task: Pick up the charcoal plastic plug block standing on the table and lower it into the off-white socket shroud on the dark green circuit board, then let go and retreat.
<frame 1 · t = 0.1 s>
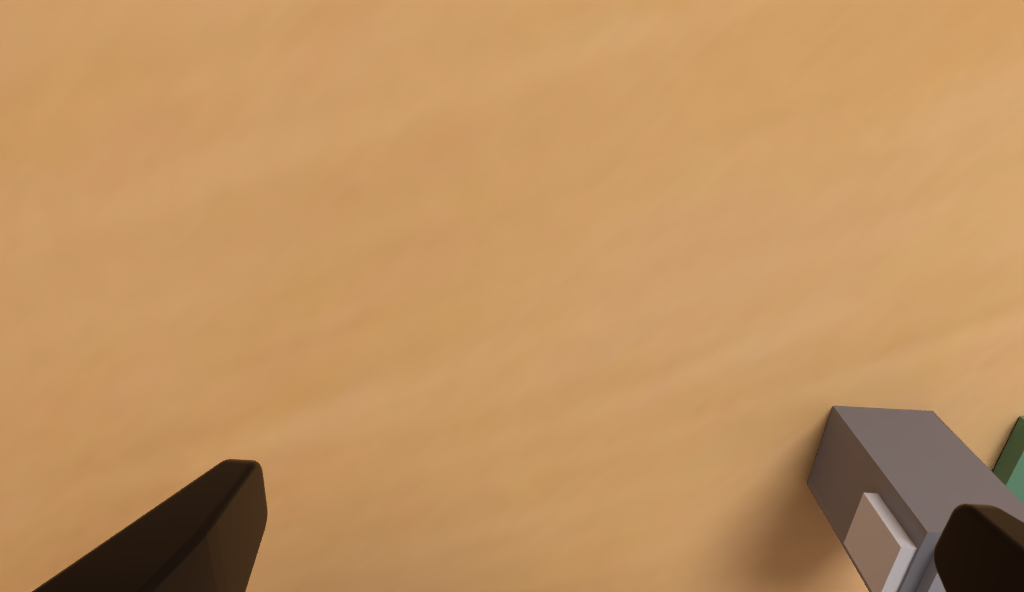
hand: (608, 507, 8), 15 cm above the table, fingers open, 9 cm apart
plug: (867, 448, 26), on the table
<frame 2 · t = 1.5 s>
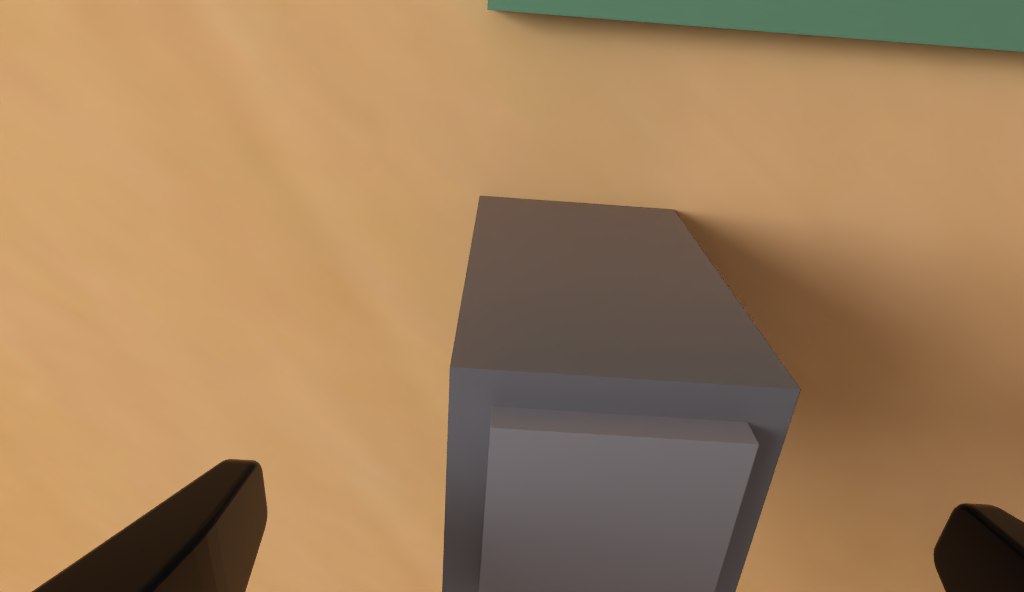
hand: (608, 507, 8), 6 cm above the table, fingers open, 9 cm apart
plug: (566, 290, 14), on the table
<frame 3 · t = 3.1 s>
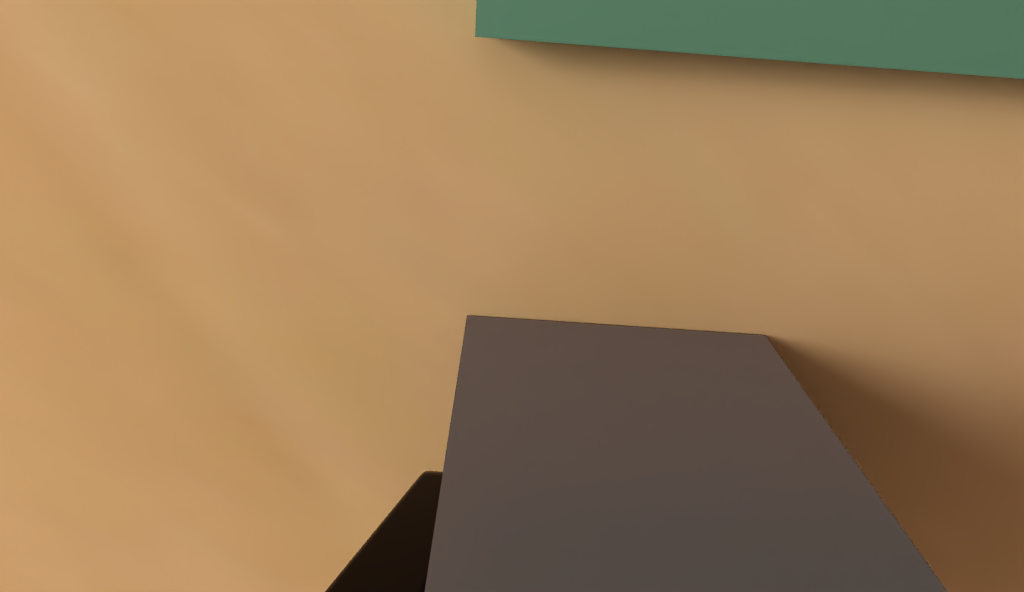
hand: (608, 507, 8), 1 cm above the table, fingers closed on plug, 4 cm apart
plug: (597, 444, 9), on the table, touching gripper
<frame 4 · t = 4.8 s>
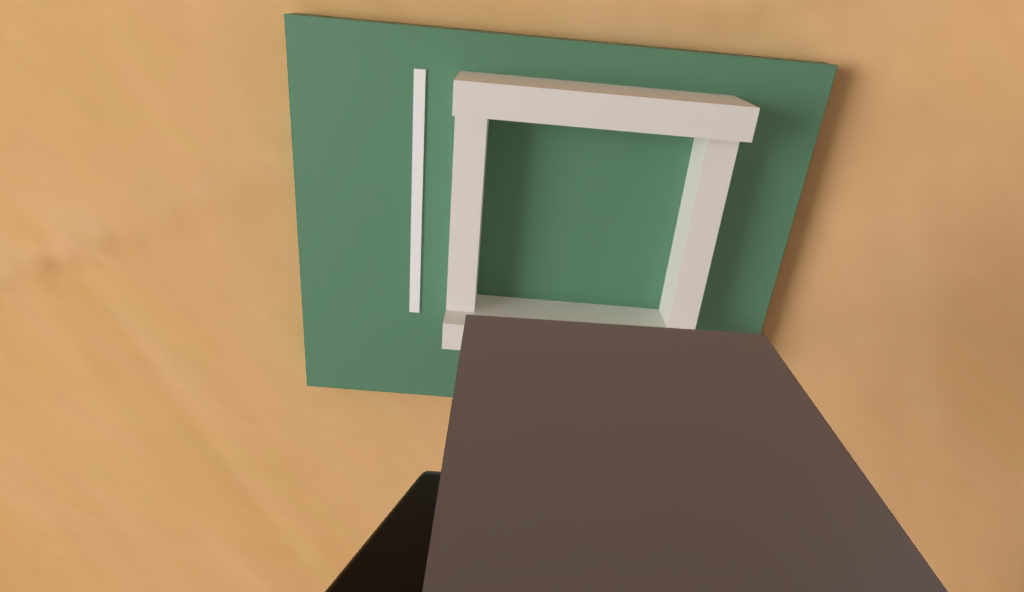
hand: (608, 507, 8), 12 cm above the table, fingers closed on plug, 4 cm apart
board: (540, 235, 19), on the table
plug: (596, 443, 9), point 10 cm above the table, touching gripper
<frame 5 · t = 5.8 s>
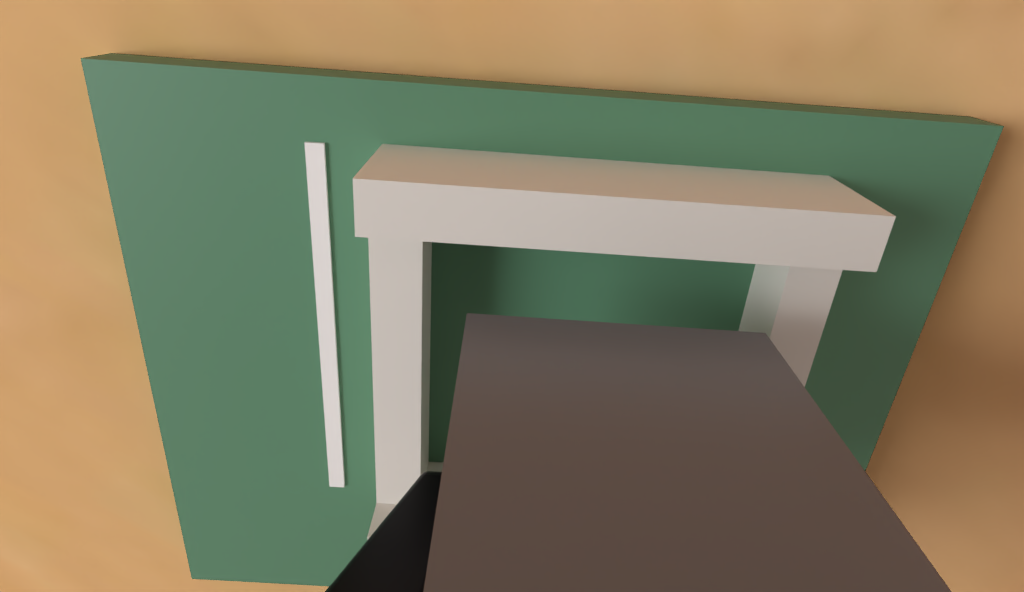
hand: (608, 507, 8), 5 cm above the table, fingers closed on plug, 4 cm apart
board: (522, 371, 13), on the table
plug: (597, 442, 9), point 3 cm above the table, touching gripper
when the fingers open (3 cm above the table, at t = 6.7 s): plug drops 1 cm, resting on board.
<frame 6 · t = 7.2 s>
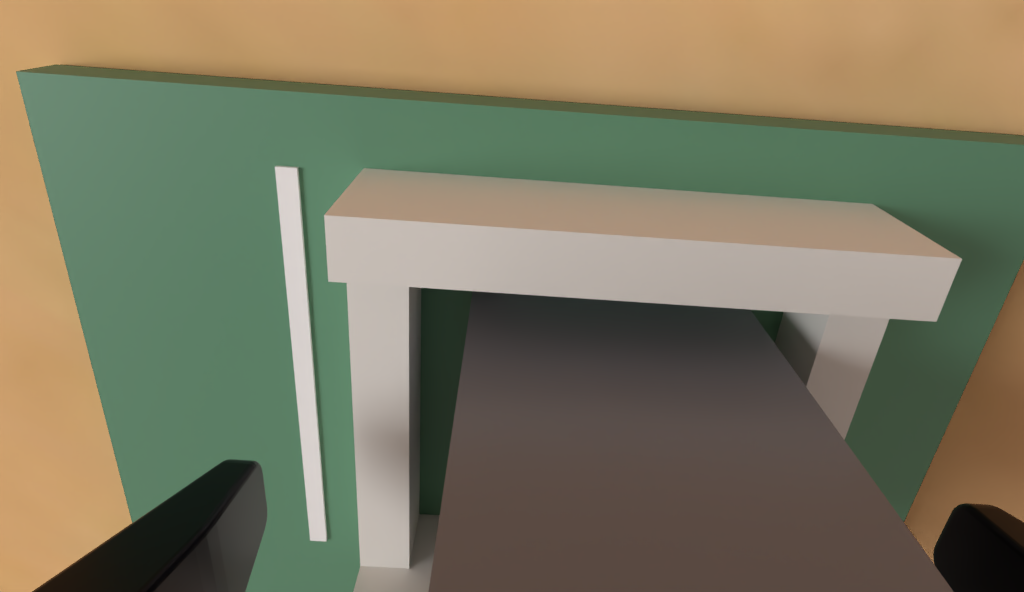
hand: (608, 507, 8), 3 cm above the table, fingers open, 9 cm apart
board: (522, 414, 12), on the table
plug: (591, 398, 10), point 1 cm above the table, touching board
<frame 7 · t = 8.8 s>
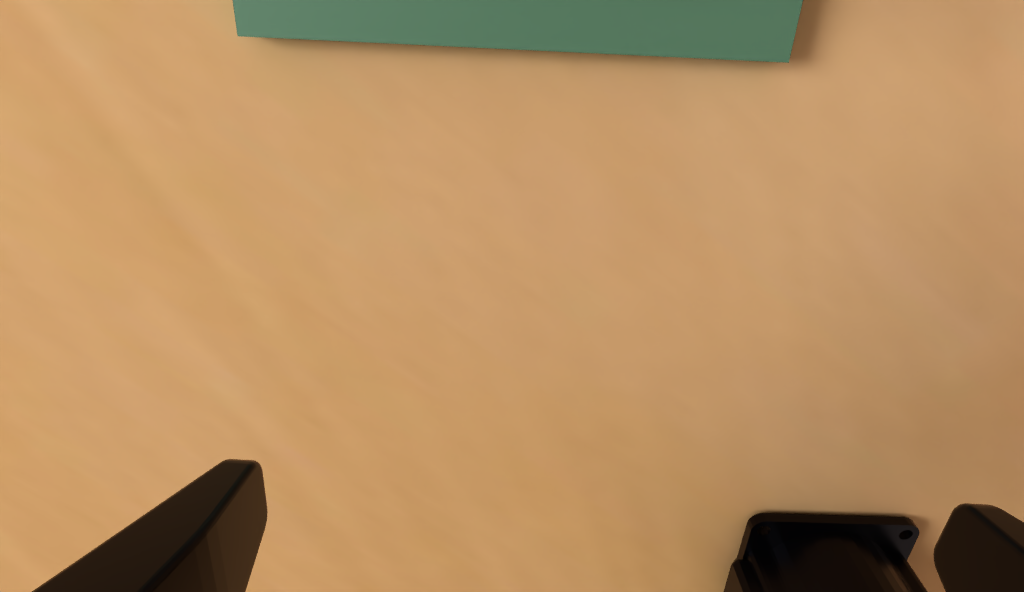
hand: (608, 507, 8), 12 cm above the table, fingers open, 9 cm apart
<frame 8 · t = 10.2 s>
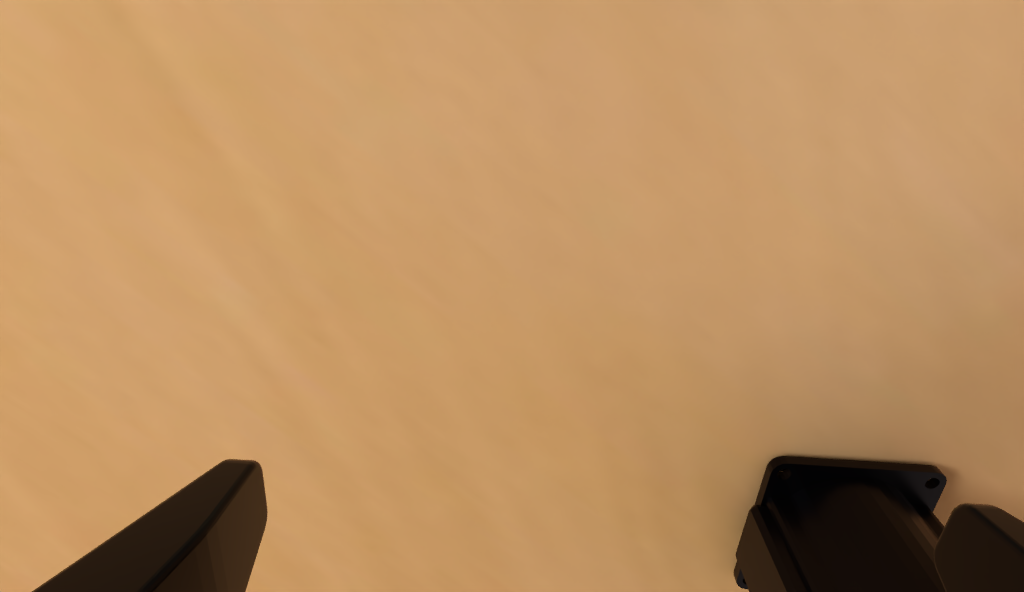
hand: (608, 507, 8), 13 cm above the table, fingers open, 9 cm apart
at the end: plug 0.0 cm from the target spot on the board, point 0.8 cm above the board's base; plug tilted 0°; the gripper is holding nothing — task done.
